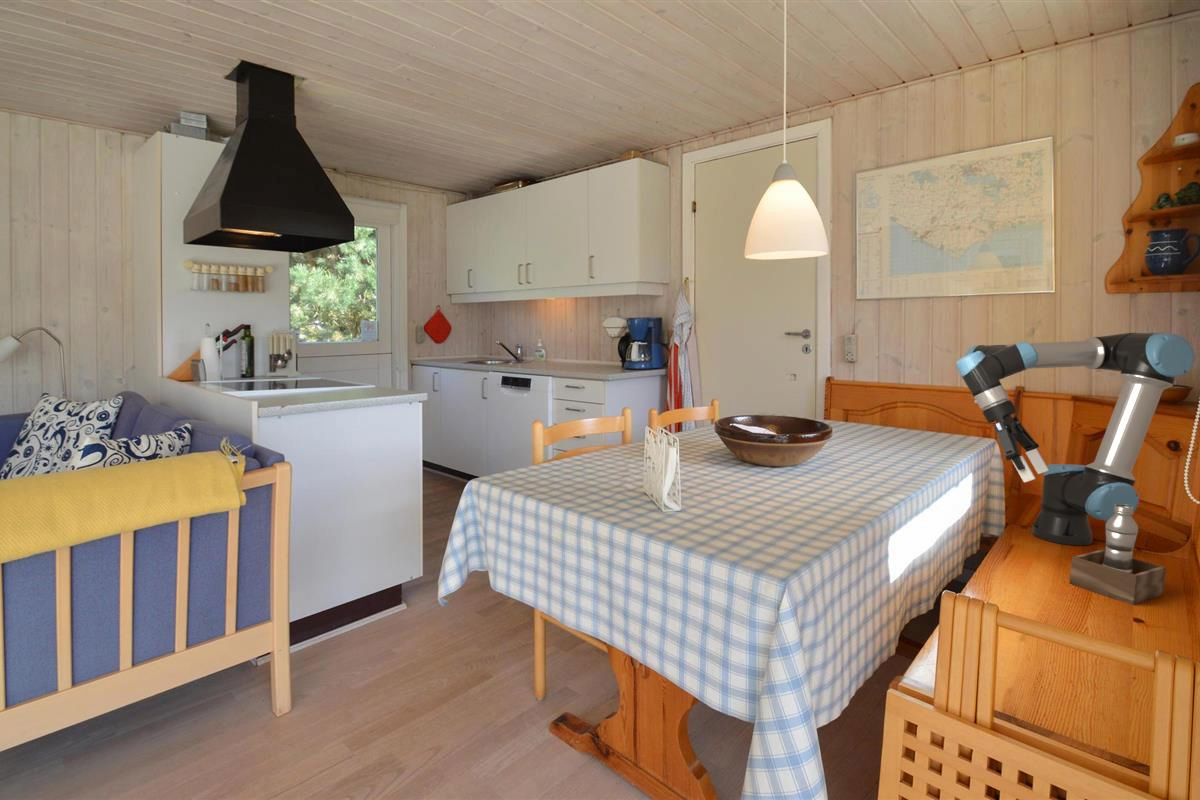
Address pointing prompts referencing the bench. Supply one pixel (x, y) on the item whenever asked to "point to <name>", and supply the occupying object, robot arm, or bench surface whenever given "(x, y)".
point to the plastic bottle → (1120, 539)
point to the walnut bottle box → (1117, 578)
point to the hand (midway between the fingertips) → (1037, 476)
